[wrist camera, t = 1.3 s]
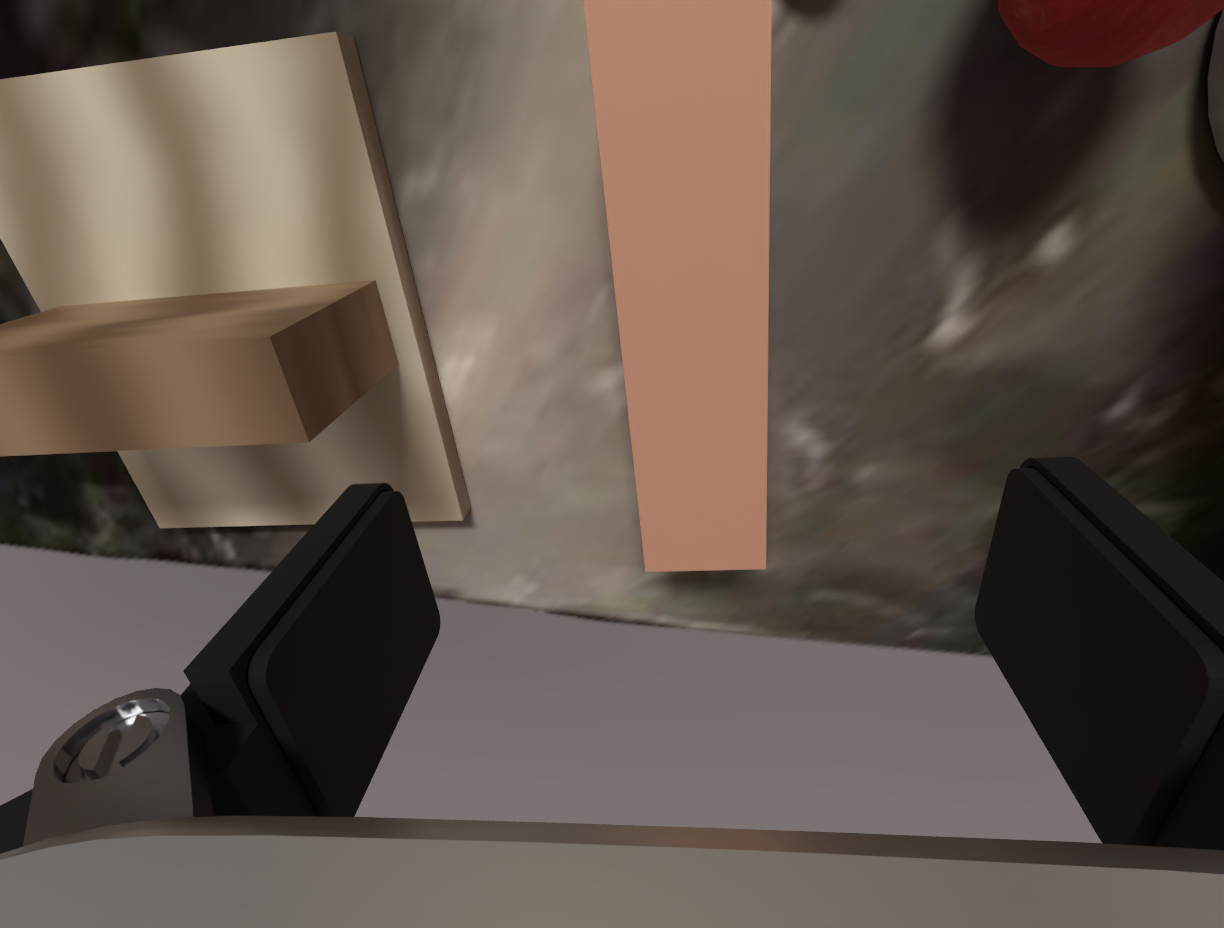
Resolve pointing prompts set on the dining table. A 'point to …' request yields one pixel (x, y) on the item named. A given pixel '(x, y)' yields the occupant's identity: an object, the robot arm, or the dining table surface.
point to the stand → (219, 286)
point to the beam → (690, 264)
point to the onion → (1101, 28)
